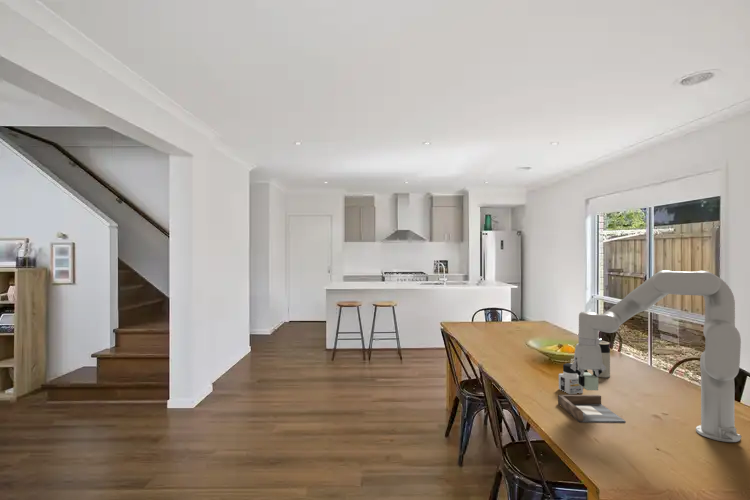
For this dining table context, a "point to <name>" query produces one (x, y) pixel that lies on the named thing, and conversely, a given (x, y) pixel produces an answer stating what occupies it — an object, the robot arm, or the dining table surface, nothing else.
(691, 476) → the dining table surface
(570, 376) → the container
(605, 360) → the travel mug
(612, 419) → the shallow tray
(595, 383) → the sage block
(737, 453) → the dining table surface
